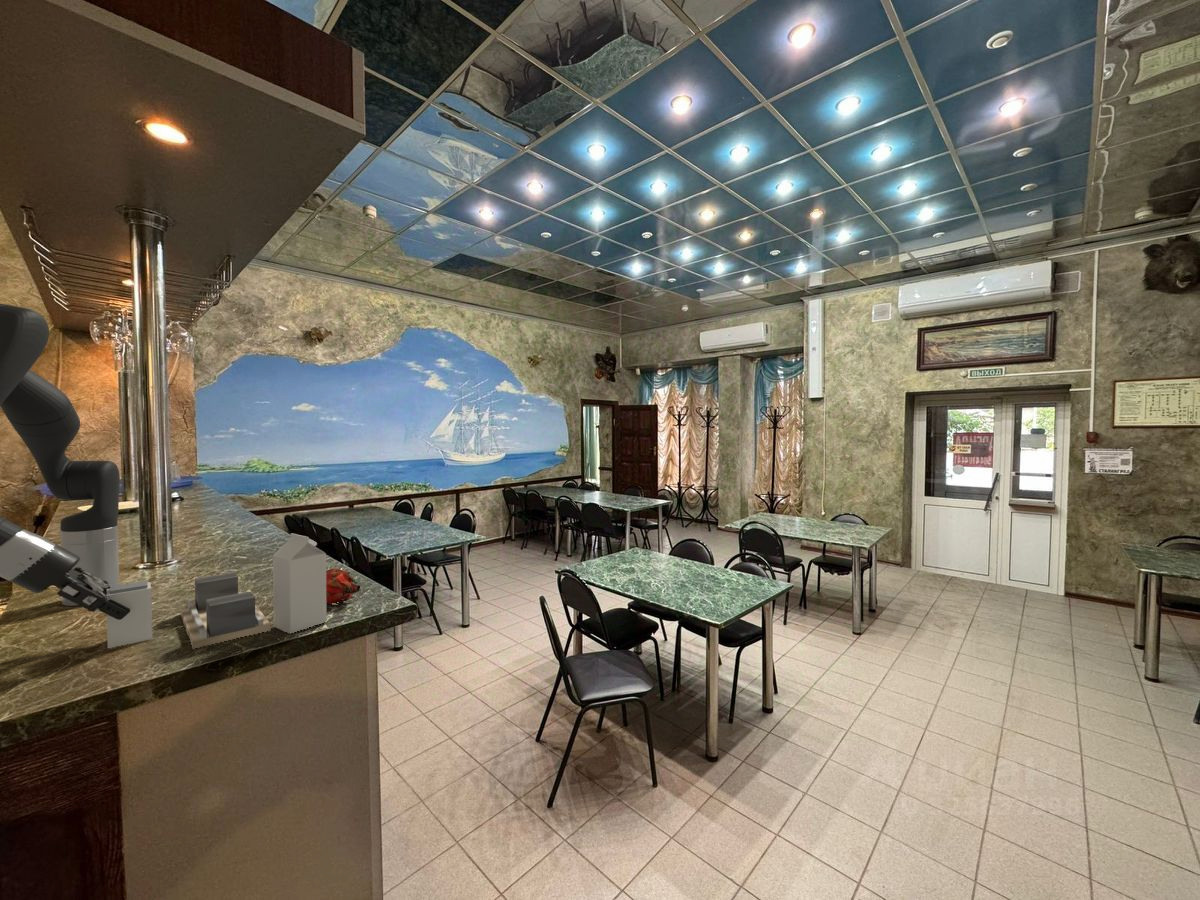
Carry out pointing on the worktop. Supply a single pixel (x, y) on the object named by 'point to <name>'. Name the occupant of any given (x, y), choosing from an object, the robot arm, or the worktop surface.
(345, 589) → the dragon fruit
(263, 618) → the rail plate
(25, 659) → the worktop surface
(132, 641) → the block
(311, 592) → the milk carton
